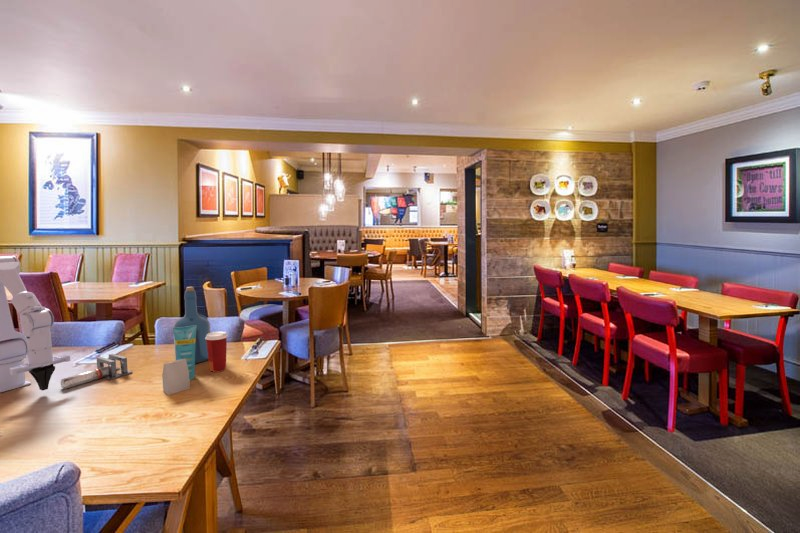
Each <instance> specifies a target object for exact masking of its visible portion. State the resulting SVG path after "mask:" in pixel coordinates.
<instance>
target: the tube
mask: <svg viewBox="0 0 800 533" xmlns="http://www.w3.org/2000/svg"><path fill="white" fill-rule="evenodd" d="M196 329H197V325H193V326H186V327H176V328H174V327H172V333H173V339H174V338H175V344H176V351H177V360H181V359H186V362H187V366H188V370H189V381H191V380H193V379H195V376H196V374H195V372H196V365H195V364H196V363H195V341H196Z"/></svg>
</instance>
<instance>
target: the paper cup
mask: <svg viewBox="0 0 800 533" xmlns="http://www.w3.org/2000/svg"><path fill="white" fill-rule="evenodd" d="M205 339H206V342H207V351H208V366H209V371H210V372H211V371H213V372H212V373H218V372H217V371H220V372H223V371H225V370H226V369H227V368H226V367H227V346H228V344H227V343H228V342H227V339H228V334H227V331H221V330H220V331H213V332H211V331H210V333H208V334H207V335H206V337H205ZM225 368H226V369H225ZM224 369H225V370H224ZM222 370H223V371H222Z"/></svg>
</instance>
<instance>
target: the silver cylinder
mask: <svg viewBox="0 0 800 533" xmlns="http://www.w3.org/2000/svg"><path fill="white" fill-rule="evenodd" d="M108 376H109V370H108V365H106V366H104V367H102V368H99V369H97V368H96V369H93V370H92V369H91V370H89V371H86V372H85V371H84V372H82V373H79V374H75V375H71V376H68V377H65V378H61V379H60V387H61V389H62V390H67V389H70V388H74V387H77V386H79V385H83V384H86V383H89V382H93V381H98V380H100V379H102V378H105V377H108Z"/></svg>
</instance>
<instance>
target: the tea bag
mask: <svg viewBox="0 0 800 533" xmlns="http://www.w3.org/2000/svg"><path fill="white" fill-rule="evenodd" d="M162 369H163V370H162V391H163V393H164V394H166V395H167V396H169V395H173V394H176V393H179V392H183V391H186V390H189V389H190V387H191V386H190V380H189V370H188V366H187V362H186V359H181V360H177V361H176V360H174V361H171V362H170V361H169V362H167V363H163V368H162Z"/></svg>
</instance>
